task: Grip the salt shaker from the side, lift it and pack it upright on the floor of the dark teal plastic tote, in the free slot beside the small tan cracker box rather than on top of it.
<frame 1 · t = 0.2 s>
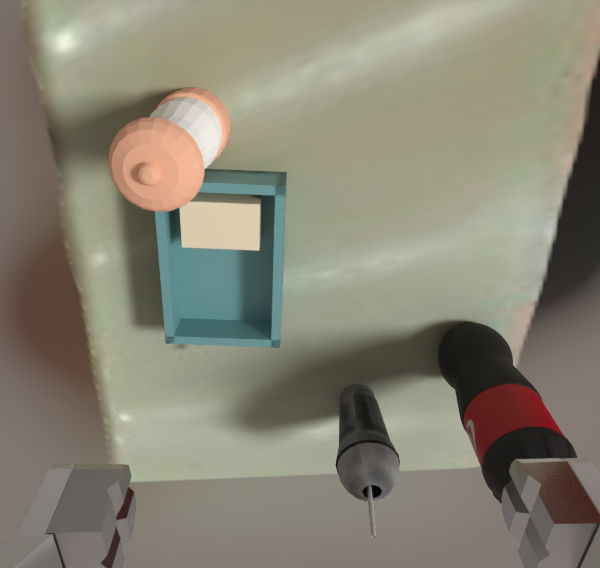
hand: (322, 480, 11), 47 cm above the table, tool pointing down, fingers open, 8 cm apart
salt shaker: (195, 124, 54), on the table
cola bottle: (466, 344, 66), on the table
tote: (226, 251, 60), on the table
beverage cup: (357, 397, 70), on the table
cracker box: (224, 213, 57), point 1 cm above the table, touching tote
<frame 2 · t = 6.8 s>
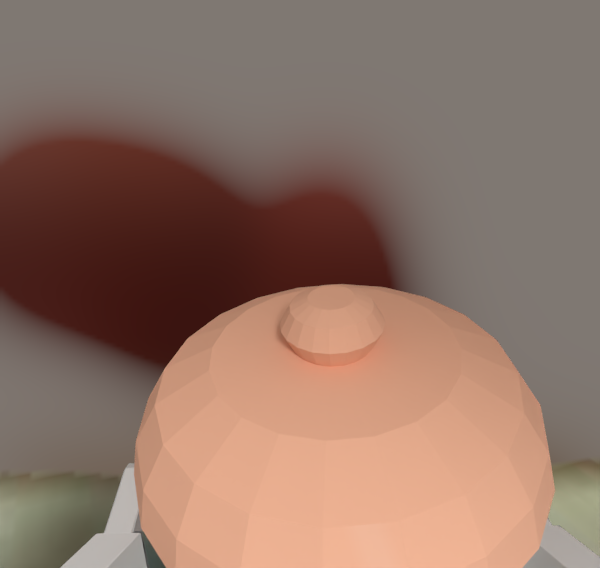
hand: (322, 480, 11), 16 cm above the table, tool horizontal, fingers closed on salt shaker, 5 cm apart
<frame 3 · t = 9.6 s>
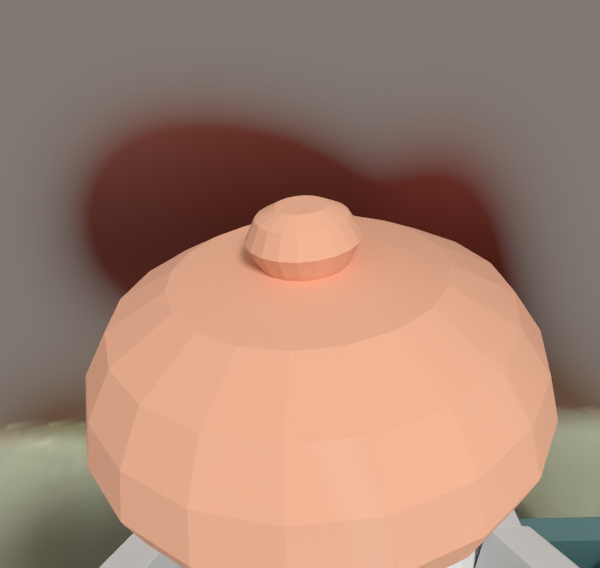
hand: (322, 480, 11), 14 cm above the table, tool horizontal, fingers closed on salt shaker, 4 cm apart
when the fingers open (14 cm above the table, at t = 9.9 s): salt shaker stays where it is, resting on tote.
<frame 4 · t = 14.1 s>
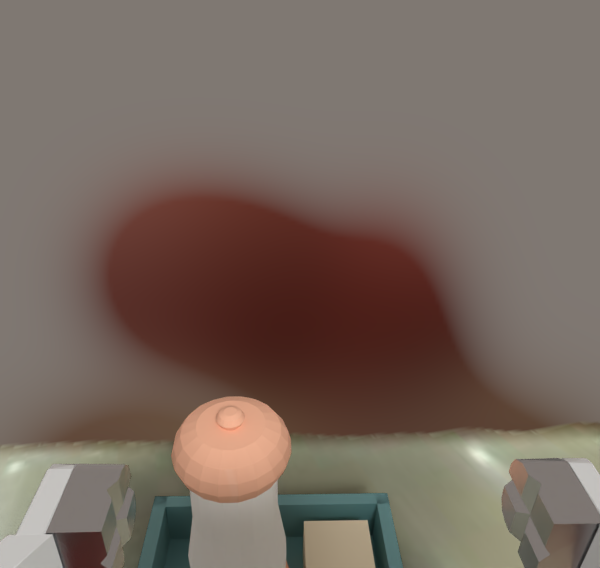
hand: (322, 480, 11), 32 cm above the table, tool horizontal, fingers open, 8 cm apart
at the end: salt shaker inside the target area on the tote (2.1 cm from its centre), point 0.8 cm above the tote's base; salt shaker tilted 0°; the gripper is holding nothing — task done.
